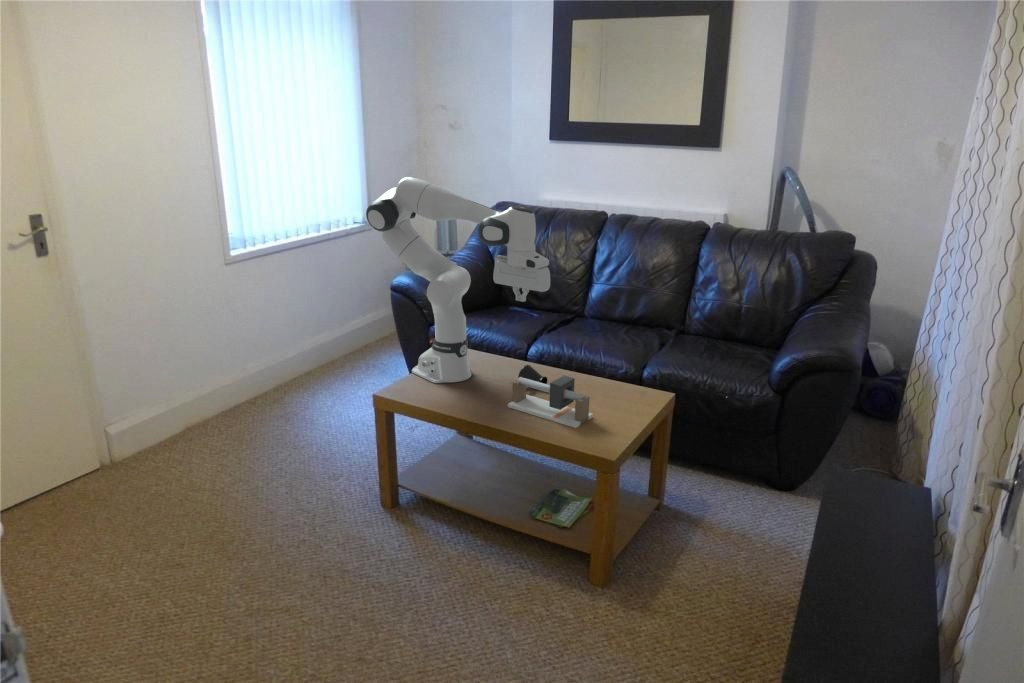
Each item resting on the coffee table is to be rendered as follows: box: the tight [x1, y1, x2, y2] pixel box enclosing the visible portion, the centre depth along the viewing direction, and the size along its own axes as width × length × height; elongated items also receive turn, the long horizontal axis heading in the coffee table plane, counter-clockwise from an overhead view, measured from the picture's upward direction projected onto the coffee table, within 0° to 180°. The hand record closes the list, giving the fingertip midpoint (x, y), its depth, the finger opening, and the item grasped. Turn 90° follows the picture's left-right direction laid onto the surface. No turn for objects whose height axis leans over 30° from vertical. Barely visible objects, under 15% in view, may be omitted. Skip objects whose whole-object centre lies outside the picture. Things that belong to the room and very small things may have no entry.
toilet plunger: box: [517, 364, 548, 393], centre depth 242 cm, size 8×18×8 cm
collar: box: [549, 375, 575, 410], centre depth 221 cm, size 4×8×8 cm, turn 144°
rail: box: [507, 377, 594, 429], centre depth 225 cm, size 26×10×10 cm, turn 54°
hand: (520, 300), depth 226 cm, fingers closed
